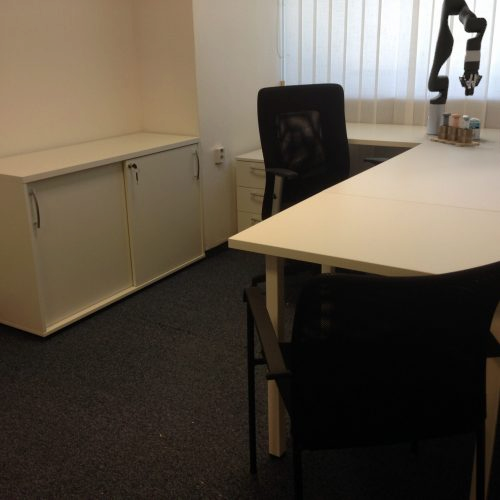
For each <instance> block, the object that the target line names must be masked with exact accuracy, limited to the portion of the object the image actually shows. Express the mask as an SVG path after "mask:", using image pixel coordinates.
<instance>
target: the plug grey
mask: <svg viewBox="0 0 500 500" xmlns="http://www.w3.org/2000/svg"><path fill="white" fill-rule="evenodd" d="M461 117H462V120H463V119H464V122H463V121H462V128H463V130H469V123H470V119H471V118H473V117H472V115H462V116H461Z"/></svg>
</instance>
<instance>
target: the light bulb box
mask: <svg viewBox="0 0 500 500" xmlns="http://www.w3.org/2000/svg"><path fill="white" fill-rule="evenodd" d="M463 122H464V119H462V123H463ZM481 126H482V119H480V118H476V117H471V119H470V123H469V129H473V137H472V141H473V140H480V137H481V129H482V127H481Z"/></svg>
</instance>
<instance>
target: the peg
mask: <svg viewBox="0 0 500 500" xmlns="http://www.w3.org/2000/svg"><path fill="white" fill-rule="evenodd" d="M442 116H444V117H443V126H449V124H450V117H452V113H451V112H445V113H442Z"/></svg>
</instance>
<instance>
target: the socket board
mask: <svg viewBox="0 0 500 500" xmlns="http://www.w3.org/2000/svg"><path fill="white" fill-rule="evenodd" d="M472 137H473V129H469V130H463V126H462V127H461V126H459V128H453V125H449V126H443V125H441V126H439V130H438V135H437V137H433V138H430V139H429V140H430V141H431V140H432V142H437V143H441V142H442V144H445V143H446V145H450V144H451V145H452V146H457V147H461V148H463V147H471V146H480V145H481V143H480V142H477V141H473V140H472Z"/></svg>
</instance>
